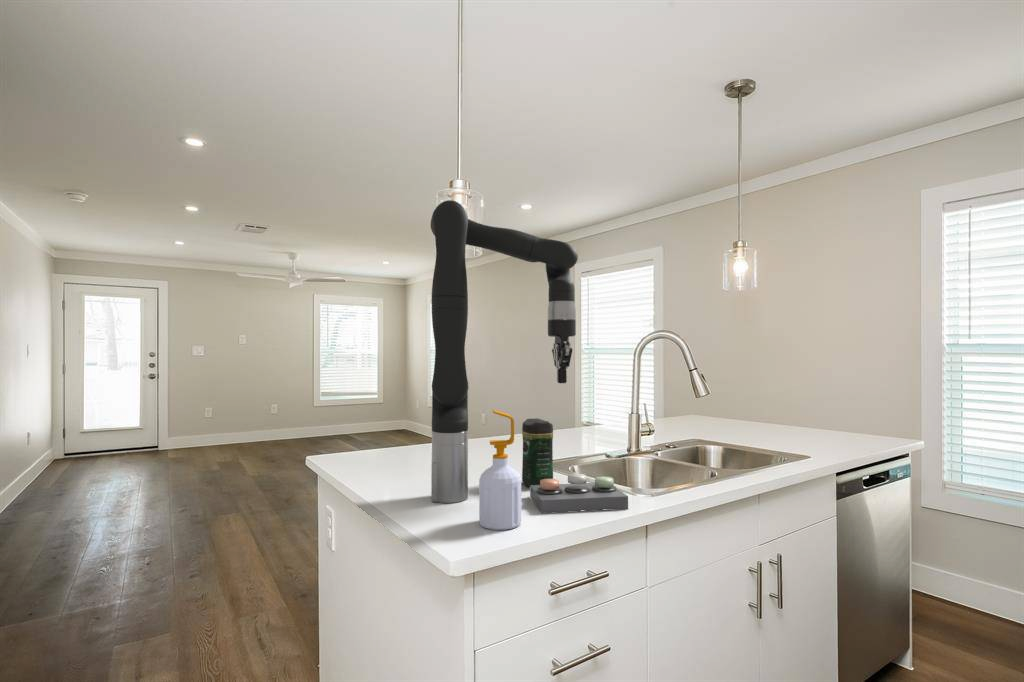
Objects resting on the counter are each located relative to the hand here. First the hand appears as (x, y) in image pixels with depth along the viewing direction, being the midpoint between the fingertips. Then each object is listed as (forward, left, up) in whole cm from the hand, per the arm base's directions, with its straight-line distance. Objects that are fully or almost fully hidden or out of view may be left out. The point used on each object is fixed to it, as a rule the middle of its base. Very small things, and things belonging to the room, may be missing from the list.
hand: (561, 383), depth 142 cm
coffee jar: (-5, +8, -29) cm, 31 cm away
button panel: (+1, -11, -29) cm, 31 cm away
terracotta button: (-6, -11, -25) cm, 28 cm away
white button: (+1, -11, -24) cm, 26 cm away
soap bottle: (-20, -24, -29) cm, 43 cm away
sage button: (+8, -11, -25) cm, 28 cm away
